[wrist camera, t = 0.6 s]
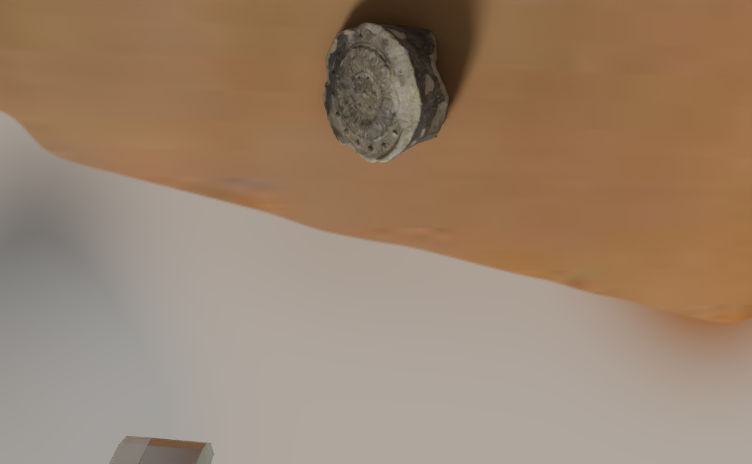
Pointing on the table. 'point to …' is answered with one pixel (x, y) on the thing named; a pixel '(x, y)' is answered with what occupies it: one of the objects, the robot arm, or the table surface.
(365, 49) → the fossil
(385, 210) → the table surface
